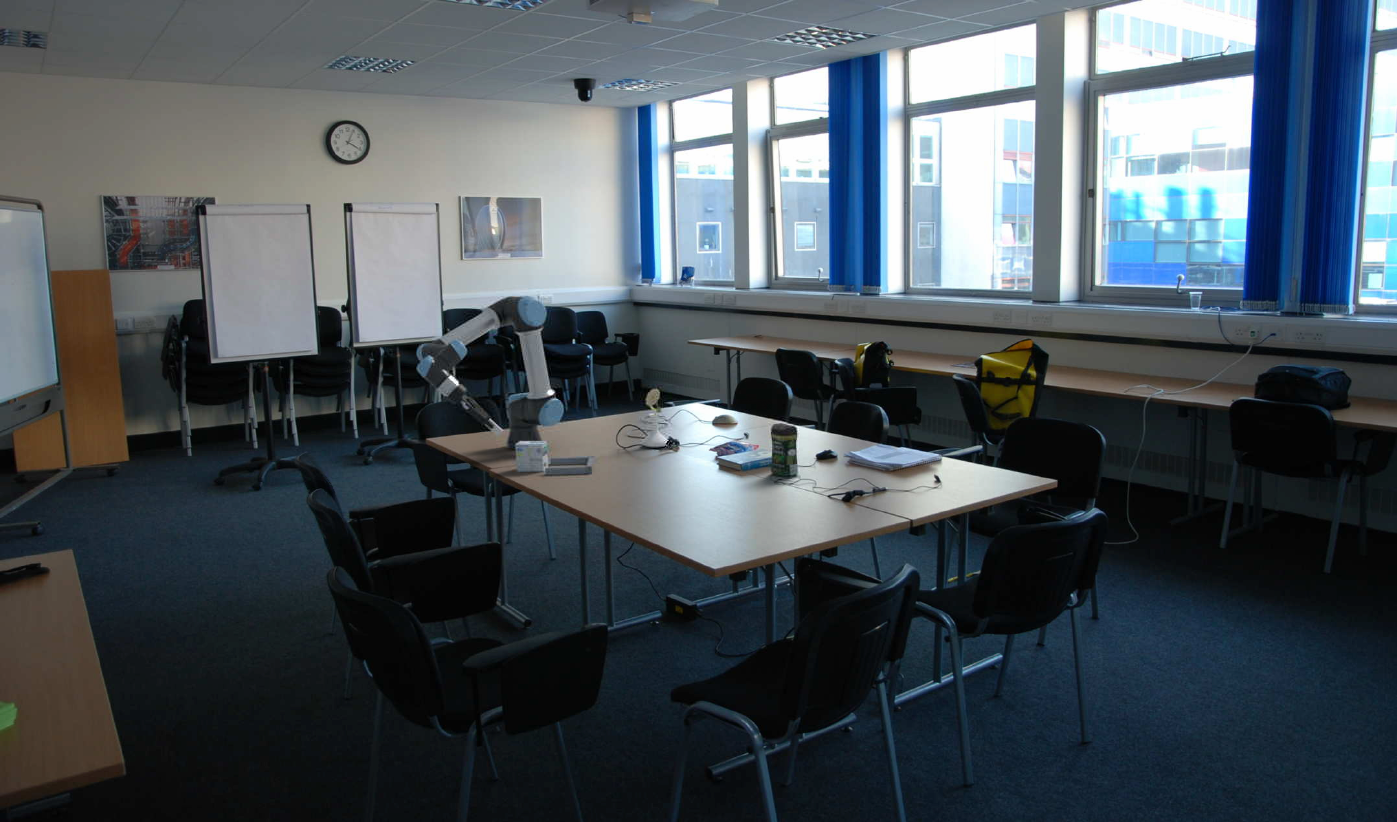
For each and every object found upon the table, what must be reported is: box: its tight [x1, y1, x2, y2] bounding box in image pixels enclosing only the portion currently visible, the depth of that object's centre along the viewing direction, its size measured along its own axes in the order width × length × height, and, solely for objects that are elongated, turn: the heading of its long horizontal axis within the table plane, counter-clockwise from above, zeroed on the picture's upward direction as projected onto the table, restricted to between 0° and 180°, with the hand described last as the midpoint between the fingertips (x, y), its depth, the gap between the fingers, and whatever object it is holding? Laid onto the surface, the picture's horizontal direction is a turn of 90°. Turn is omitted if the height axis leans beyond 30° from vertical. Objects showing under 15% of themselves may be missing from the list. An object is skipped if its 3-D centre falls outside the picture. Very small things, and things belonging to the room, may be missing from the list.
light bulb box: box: [515, 440, 549, 473], centre depth 367 cm, size 11×7×11 cm, turn 84°
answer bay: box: [544, 455, 596, 476], centre depth 368 cm, size 20×17×2 cm
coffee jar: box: [770, 422, 799, 478], centre depth 349 cm, size 10×8×19 cm
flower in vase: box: [641, 388, 669, 448], centre depth 405 cm, size 13×11×25 cm
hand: (500, 433), depth 365 cm, fingers closed
